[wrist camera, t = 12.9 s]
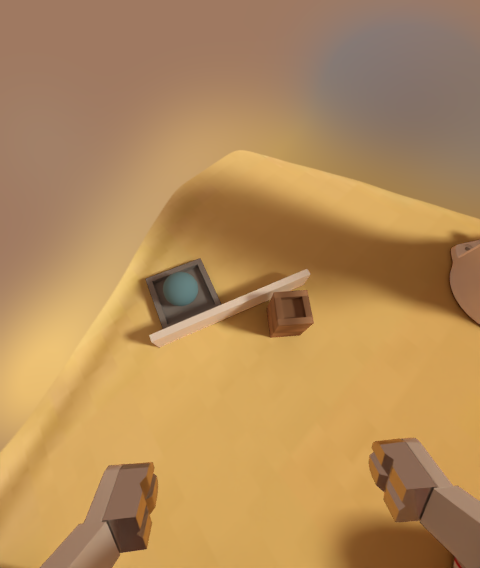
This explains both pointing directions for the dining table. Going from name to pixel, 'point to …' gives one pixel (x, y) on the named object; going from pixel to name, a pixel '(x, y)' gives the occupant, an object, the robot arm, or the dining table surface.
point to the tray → (202, 303)
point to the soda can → (458, 564)
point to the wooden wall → (227, 309)
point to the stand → (289, 313)
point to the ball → (180, 289)
